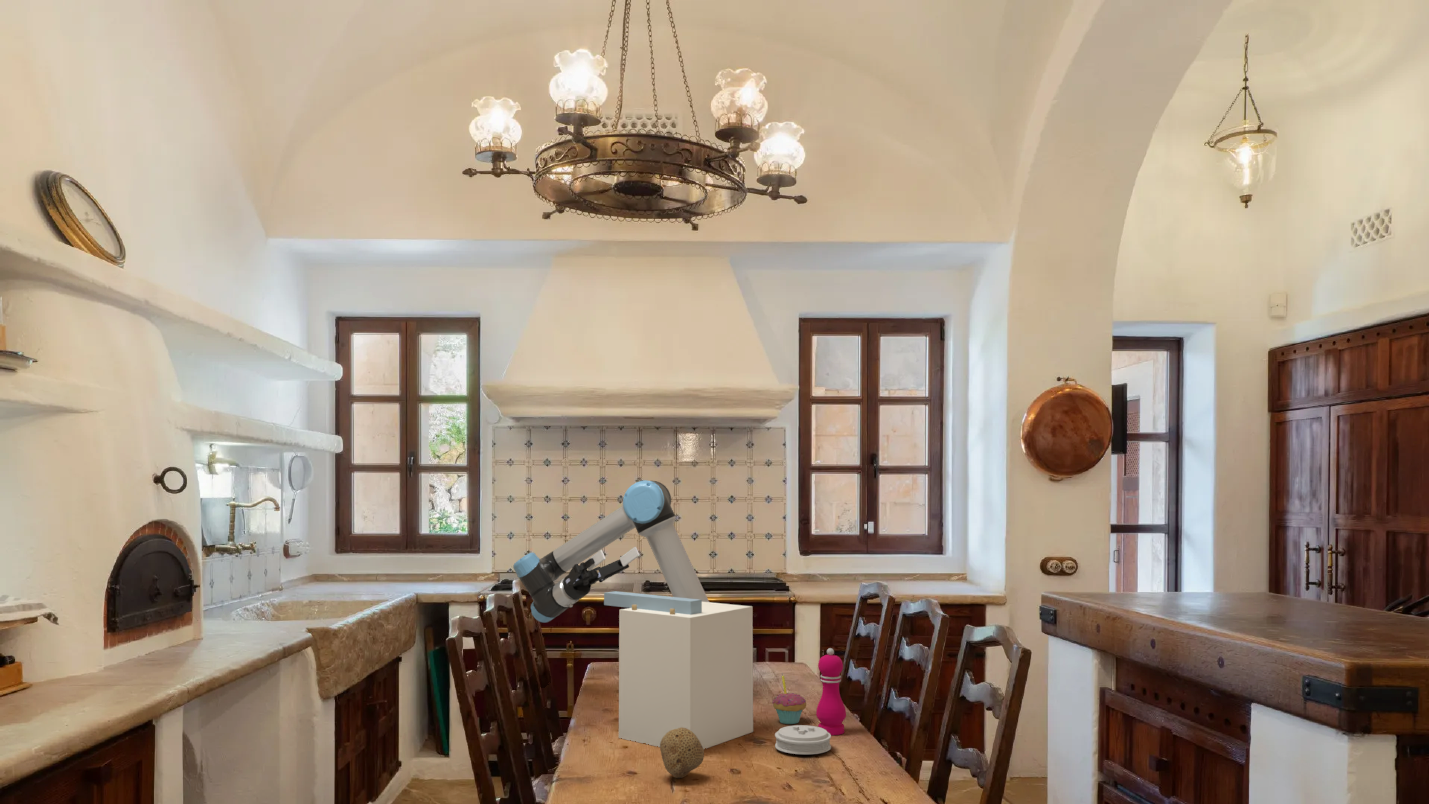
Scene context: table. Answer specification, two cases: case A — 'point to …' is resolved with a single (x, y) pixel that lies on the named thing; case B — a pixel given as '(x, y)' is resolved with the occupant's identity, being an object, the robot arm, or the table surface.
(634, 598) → the batten
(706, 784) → the table surface
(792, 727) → the lid
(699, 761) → the natural sponge
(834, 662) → the pepper mill
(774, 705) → the cupcake
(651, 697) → the plinth
